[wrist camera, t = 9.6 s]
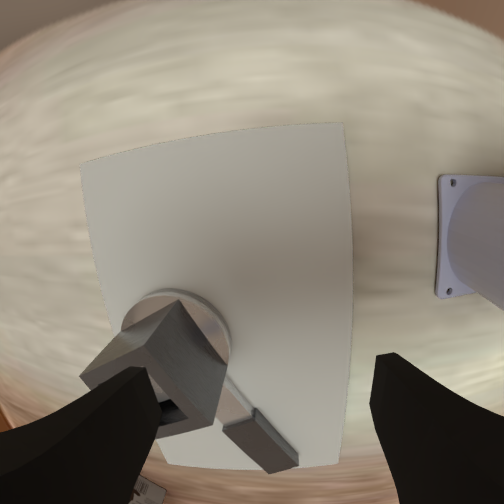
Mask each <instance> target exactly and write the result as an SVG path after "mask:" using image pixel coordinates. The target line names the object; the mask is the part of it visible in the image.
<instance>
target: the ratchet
mask: <svg viewBox="0 0 504 504" xmlns="http://www.w3.org/2000/svg"><path fill="white" fill-rule="evenodd" d="M178 299H179V300H180V301H181V303H182V304H183V306H184V307H185V309H186V310H187V312H188V313H189V314H190V316H191V317H192V319H193V320H194V321H195V323H196V324H197V326H198V327H199V328H200V330H201V331H202V332H203V334H204V335H205V337H206V338H207V339H208V341H209V342H210V343H211V345H212V346H213V347H214V349H215V350H216V351H217V353H218V354H219V355H220V357H221V358H222V359H223V360H224V362H225V363H226V364H227V366H228V362H229V358H230V354H231V349H232V338H231V333H230V330H229V327H228V325H227V322H226V321H225V319H224V317H223V316H222V315H221V313H220V312H219V311H218V310H217V309H216V308H215V307H214V306H213V305H212V304H211V303H210V302H208V301H207V300H206V299H204V298H202V297H201V296H199V295H197V294H195V293H192V292H190V291H187V290H182V289H176V288H164V289H158V290H155V291H152V292H150V293H148V294H146V295H145V296H144V297H142V298H141V299H140V300H139V301H138V302H137V303H136V304H135V305H134V306H133V307H132V308H131V309H130V310H129V311H128V312H127V314H126V315H125V317H124V319H123V322H122V325H121V331H122V330H124V329H126V328H128V327H129V326H131V325H133V324H135V323H136V322H138V321H140V320H142V319H144V318H145V317H147V316H149V315H151V314H153V313H154V312H156V311H158V310H160V309H161V308H163V307H165V306H167V305H169V304H170V303H172V302H174V301H176V300H178ZM141 367H143V366H141ZM148 375H149V373H148ZM149 378H150V381H151V384H152V386H153V389H154V392H155V395H156V397H157V400H158V402H162V401H165V400H168V399H170V398H169V397H168V395H167V394H166V393H165V392H164V391H163V390H162V389H161V388H160V386H159V385H158V384H157V383H156V382H155V381H154V379H153V378H152V377H151V376H150V375H149ZM215 417H216V418H217V419H218V420H219V421H220V422H221V423H222V424H223V428H222V432H223V433H224V434H225V435H226V436H227V437H228V438H229V439H230V440H232V441H233V442H234V443H235V444H236V445H237V446H238V447H239V448H240V449H241V450H242V451H243V452H244V453H245V454H246V455H248V456H249V457H250V458H251V459H252V460H253V461H254V462H255V463H257V464H258V465H259V466H260V467H261V468H262V469H263V470H265V471H266V472H267V473H268V474H272V473H276V472H280V471H283V470H287V469H291V468H294V467H297V466H299V454H298V453H297V452H296V451H295V450H294V449H293V448H292V447H291V445H290V444H289V443H288V442H287V441H286V440H285V439H284V438H283V437H282V436H281V435H280V434H279V432H278V431H277V430H276V429H275V428H274V427H273V426H272V425H271V424H270V422H269V421H268V420H267V419H266V418H265V417H264V416H263V414H262V413H261V412H260V411H259V410H258V409H257V408H253V407H252V405H251V404H250V403H249V402H248V401H247V399H246V398H245V397H244V396H243V395H242V394H241V392H240V391H239V390H238V389H237V388H236V386H235V385H234V384H233V383H232V381H231V380H230V379H229V378H228V376H227V375H225V379H224V383H223V387H222V391H221V395H220V399H219V403H218V407H217V411H216V415H215Z"/></svg>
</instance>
